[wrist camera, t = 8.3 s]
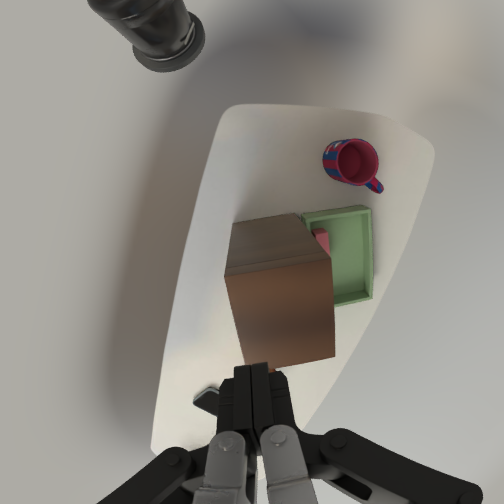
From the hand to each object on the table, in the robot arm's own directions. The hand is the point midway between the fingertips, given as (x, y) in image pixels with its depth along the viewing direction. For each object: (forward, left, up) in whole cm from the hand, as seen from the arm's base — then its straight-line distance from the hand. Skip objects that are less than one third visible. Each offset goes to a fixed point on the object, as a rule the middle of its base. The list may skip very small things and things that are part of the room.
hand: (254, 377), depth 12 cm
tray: (+9, +14, -35) cm, 39 cm away
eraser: (+7, +12, -33) cm, 36 cm away
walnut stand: (+7, +3, -35) cm, 36 cm away
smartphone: (+43, -12, -35) cm, 57 cm away
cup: (-5, +18, -36) cm, 40 cm away
